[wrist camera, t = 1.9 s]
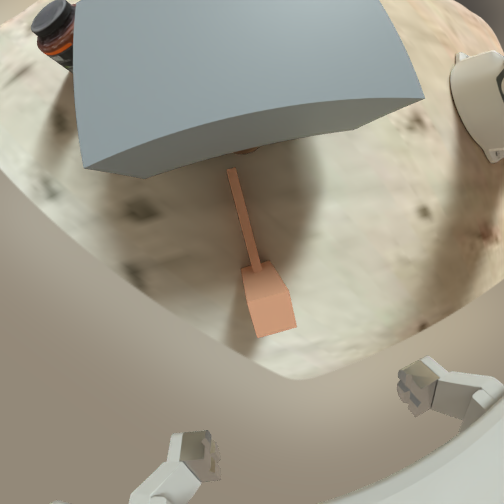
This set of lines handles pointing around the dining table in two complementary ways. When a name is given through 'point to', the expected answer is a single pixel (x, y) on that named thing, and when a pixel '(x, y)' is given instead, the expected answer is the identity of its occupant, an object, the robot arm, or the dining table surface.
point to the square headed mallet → (261, 278)
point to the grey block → (228, 76)
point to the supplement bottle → (56, 31)
